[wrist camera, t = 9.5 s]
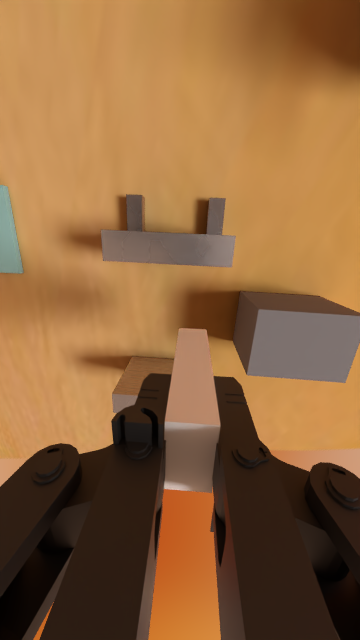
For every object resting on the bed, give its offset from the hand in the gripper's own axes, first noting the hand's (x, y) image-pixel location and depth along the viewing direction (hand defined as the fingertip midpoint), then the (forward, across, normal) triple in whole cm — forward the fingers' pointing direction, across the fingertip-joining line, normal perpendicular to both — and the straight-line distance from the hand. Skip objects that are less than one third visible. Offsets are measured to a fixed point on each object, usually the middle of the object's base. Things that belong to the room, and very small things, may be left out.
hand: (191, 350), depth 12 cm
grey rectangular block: (+9, +8, -1) cm, 12 cm away
